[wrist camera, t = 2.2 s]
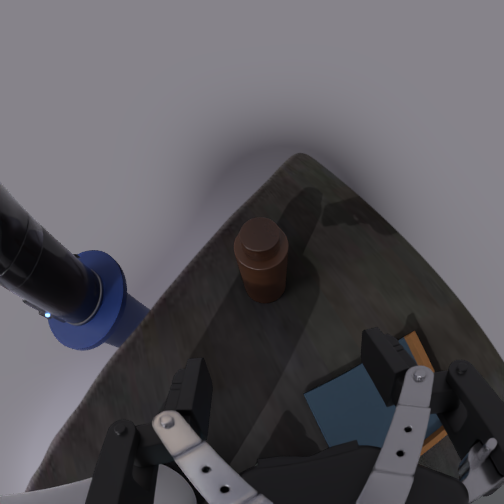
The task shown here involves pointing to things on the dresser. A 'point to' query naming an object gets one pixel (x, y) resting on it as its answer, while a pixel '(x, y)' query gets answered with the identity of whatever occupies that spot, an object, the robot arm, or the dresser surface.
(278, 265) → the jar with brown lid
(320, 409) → the corner mat
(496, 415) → the robot arm
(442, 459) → the dresser surface
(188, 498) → the tall pillar cylinder
